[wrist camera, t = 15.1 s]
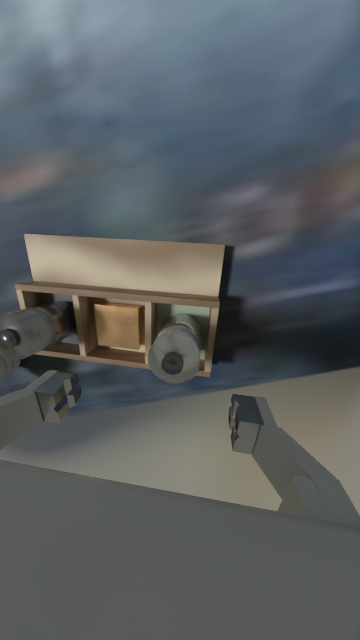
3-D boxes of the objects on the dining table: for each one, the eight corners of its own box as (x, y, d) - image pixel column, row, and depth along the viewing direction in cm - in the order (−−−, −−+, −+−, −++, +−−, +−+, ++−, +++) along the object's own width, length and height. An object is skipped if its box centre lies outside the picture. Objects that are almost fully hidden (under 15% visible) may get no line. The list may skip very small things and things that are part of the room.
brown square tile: (99, 302, 20) (94, 304, 19) (141, 305, 19) (138, 308, 18) (103, 341, 21) (98, 344, 20) (142, 345, 21) (138, 349, 20)
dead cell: (53, 295, 20) (-17, 307, 14) (85, 309, 20) (29, 328, 14) (47, 326, 22) (-19, 350, 15) (78, 340, 21) (23, 370, 15)
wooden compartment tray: (34, 235, 20) (0, 231, 16) (223, 245, 17) (227, 243, 14) (54, 344, 24) (31, 357, 21) (208, 363, 22) (209, 381, 19)
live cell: (165, 311, 19) (145, 337, 13) (203, 314, 19) (202, 344, 12) (163, 345, 20) (145, 384, 14) (199, 349, 20) (196, 391, 14)
